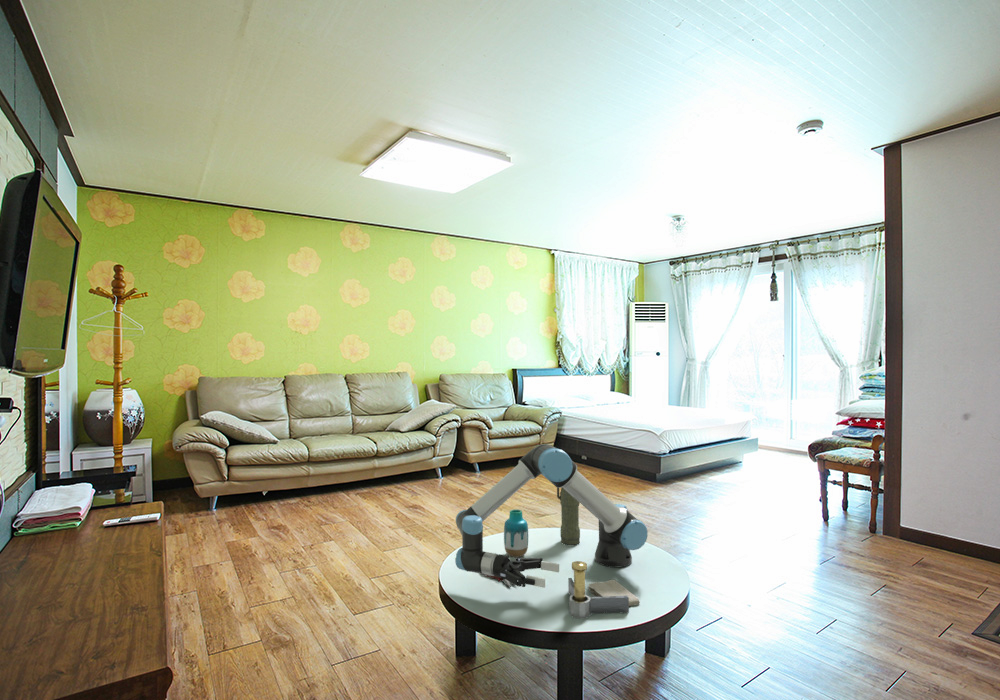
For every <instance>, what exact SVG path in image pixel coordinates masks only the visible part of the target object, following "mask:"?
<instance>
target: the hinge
mask: <svg viewBox="0 0 1000 700" xmlns="http://www.w3.org/2000/svg"><path fill="white" fill-rule="evenodd" d="M567 580H568V581H567V583H568V586H567V588H568V594H569V595H570V596H569V598H568V602H569V603H568V607H569V608H568V611H569V612H568V613H569V615H570V616H571V617H572V616H573V618H574V617H575V619H579V620H582V619H587V618H590V617H591V615H598V614H621V613H620V612H623V613H627V612H628V613H630V606H629V597H628V596H605V597H595V596H588V595H587V594H585V602H577V601H574V579H573V578H572V577H568V579H567ZM623 613H622V614H623Z"/></svg>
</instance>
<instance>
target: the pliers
mask: <svg viewBox="0 0 1000 700" xmlns="http://www.w3.org/2000/svg"><path fill="white" fill-rule="evenodd" d="M482 575H483V576H485V577H488V578H490V579H491V578H492V579H494V580H495V579H496V580H497V581H498V582H499V583H500V582H503V583H504V584H505V585H507V586H508V587H510V588H511V587H512V586H511V585H514V586H516V585H515V584H513V583H511V582H510V581H508V580H506V579H502V578H500V577H495V576H491V575H490V576H488V575H486V574H482Z"/></svg>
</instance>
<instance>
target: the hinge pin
mask: <svg viewBox="0 0 1000 700" xmlns="http://www.w3.org/2000/svg"><path fill="white" fill-rule="evenodd" d="M571 569H572V570H573V582H574V601H577V602H585V595H586V571H587V570H588V563H587V562H585V561H582V560H581V561H580V560H575V561H572V562H571Z"/></svg>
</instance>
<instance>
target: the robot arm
mask: <svg viewBox="0 0 1000 700" xmlns="http://www.w3.org/2000/svg"><path fill="white" fill-rule="evenodd" d="M540 475H542V476H543V477H544V478H545V479H547V481H549V483H551V484H552V485H554V487H555V488H556V489H557V488H559V489H562V488H564V489H565V490H566V491H567V492H568V493H569V494H571V495H572V496H573V497H574V498H575V499H576V500H577V501H578V502H580V505H582V506H583V507H584V508H585V509H587V511H589V512H590V513H591V514H592V515H593V516H594V517H595V518H596V519H597V520H598V542H597V545H596V550H595V552H594V560H595V562H596V563H597V564H599V565H602V566H605V567H609V566H610V568H611V567H613V568H622V567H627V566H629V565H631V564H632V563H633V559H632V558H633V557H632V553H631V551H636V550H639V549H641V548H642V547H643V546H644V545H645V544H646V542H647V540H648V535H649V534H648V527H647V526H646V525H645V523H644V522H643V521H642V520H640V519H637V517H635V516H634V515H633V514H632V513H631V512H630V511H628V509H627V508H628V507H627V506H626V505H625V504H622V503H621V504H620V503H614V502H613V501H612V500H611V499H609V498H608V496H606V495H605V494H604V493H603V492H602V491H600V489H598V488H597V486H595V485H594V484H593V483H592V482H591V481H590V480H588V478H586V477H585V476H584V475H583V474H581V472H580V471H578V465H577V464H576V463H575V462H574V461H573V460H572V459H571V457H570V456H569V454H568V453H567V452H565V451H564V450H563V449H560V448H557V447H555V446H553V445H551V444H548V443H542V444H538V445H536V446H535V447H533V448H532V449H531V450H529V451H528V452H526V454H525V455H523V456H522V457H521V458H520V459H519V460H518V464H517V465H516V466H515V467H513V469H511V471H509V472H508V473H506V475H505V476H503V477H502V478H501V479H500V480H499V481H498V482H497V483H496V484H494V485H493V486H492V487H491V488H490V489H489V490H488V491H486V492H485V493H484V494H483V495H482V496H481V497H480V498H479V499H477V500H476V501H475V502H474V503H473V504H471V506H469V507H468V508H467V509H463V510H461V511H459V512H458V513H457V514H456V517H455V523H456V524H455V525H456V527H457V530H459V532H460V534H461V542H462V545H461V546H462V547H460V548H459V549H458V550H457V552H456V555H455V556H456V557H455V566H456V568H457V569H459V570H462V571H464V572H470V573H471V572H472V573H475V574H481V575H483V574H486V575H488V576H490V575H491V576H495V577H500V578H502V579H506V580H508V581H510V582H511V583H513V584H515V585H514V586H517V587H523V588H525V587H526V585H527V586H534V587H540V588H546V578H545V577H544V578H543V577H538V576H534V575H533V576H532V575H529V574H527V575H524V574H523V573H522V572H525V571H526V570H535V569H540V570H543V571H548V572H553V573H559V572H560V564H559V563H555V562H550V561H543V560H544V558H542V557H515V560H511V559H510V557H509V555H505V554H499V553H496V552H489V551H484V550H483V549H484V548H483V547H484V544H483V541H484V540H483V539H484V537H483V535H484V534H483V533H484V531H483V530H484V525H483V522H484V521H485V520H486V519H487V518H488V517H489V516H490V515H492V514H493V513H494V512H496V511H497V510H498V508H499V509H500V507H501V506H502V505H503V504H504V503H506V501H507V500H509V499H510V498H511V497H512V496H514V495H515V494H516V493H517V492H518V491H519V490H520V489H521V488H523V487H524V486H525V485H526V484H527V483H528V482H529V481H530V480H535V479H536V478H537V477H539V476H540ZM488 576H487V577H488ZM510 582H509V583H510ZM511 583H510V584H511ZM513 584H512V585H513Z"/></svg>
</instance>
